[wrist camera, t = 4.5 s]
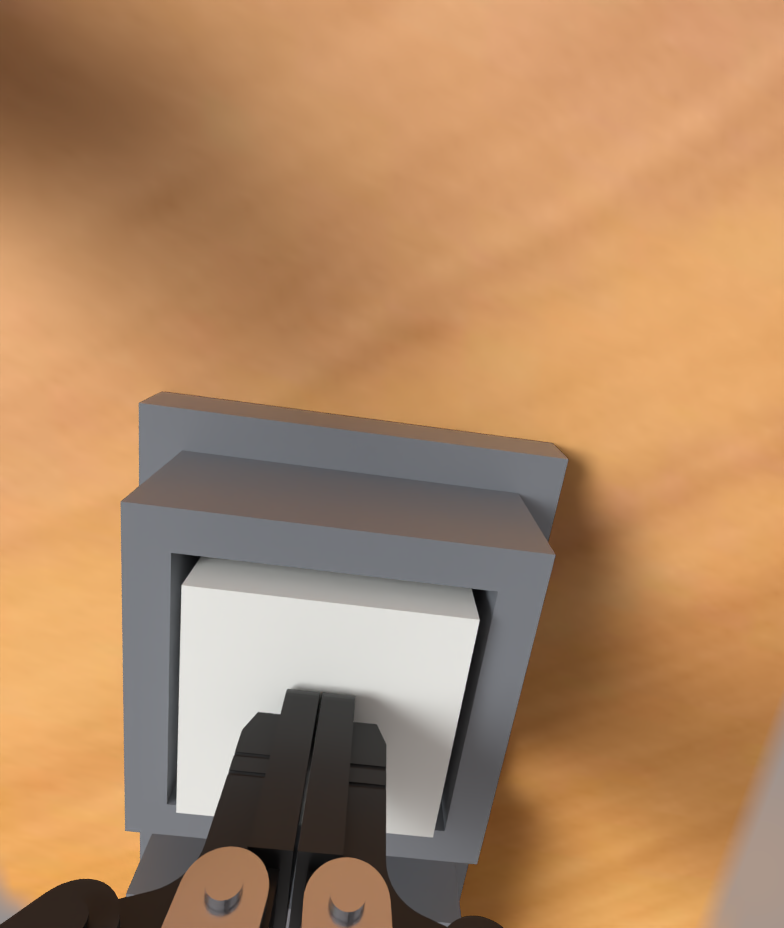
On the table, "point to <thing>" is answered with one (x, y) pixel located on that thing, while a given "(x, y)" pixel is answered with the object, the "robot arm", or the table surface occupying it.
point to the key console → (343, 551)
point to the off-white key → (322, 671)
